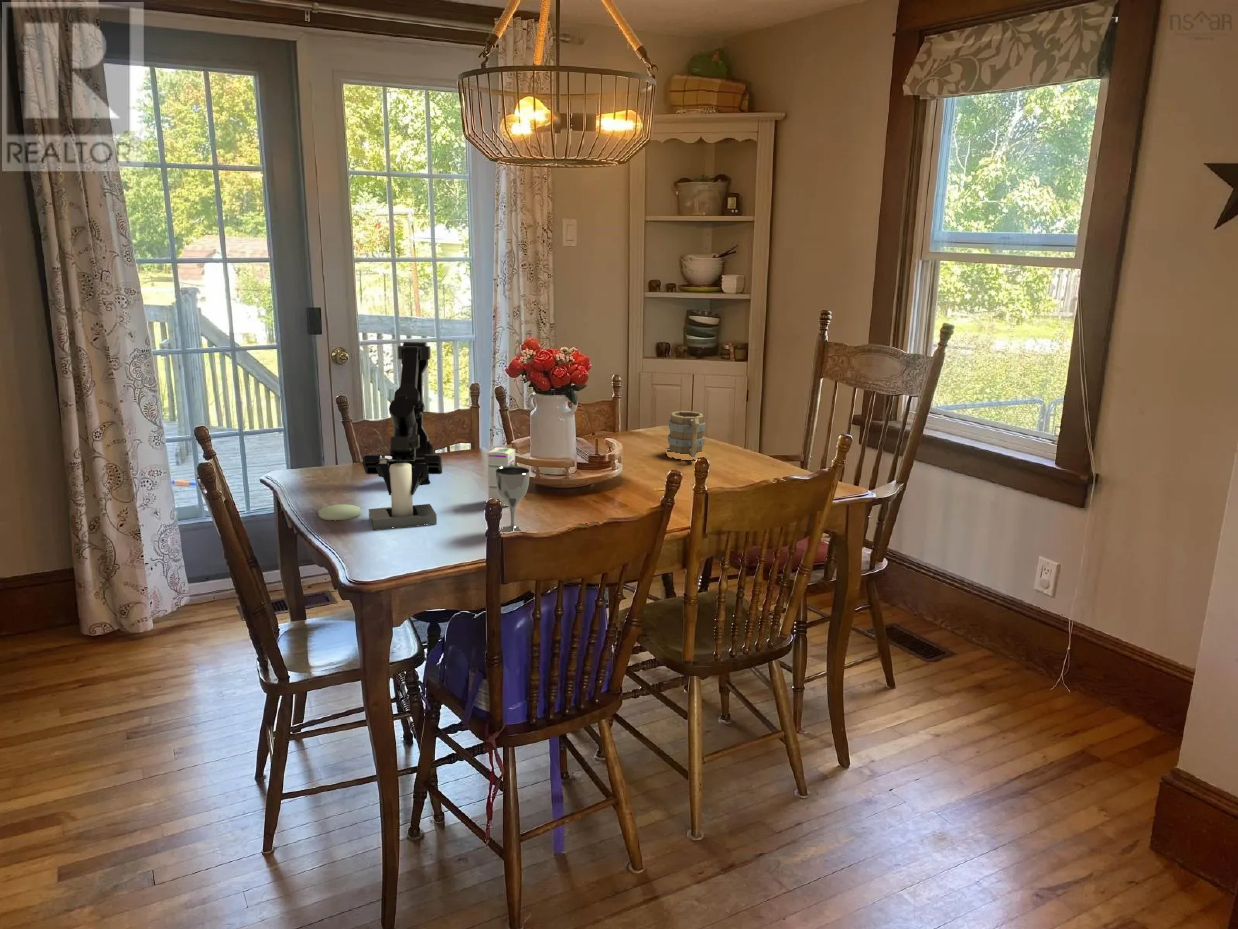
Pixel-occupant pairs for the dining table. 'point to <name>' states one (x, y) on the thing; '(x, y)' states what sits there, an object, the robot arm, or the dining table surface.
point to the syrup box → (497, 460)
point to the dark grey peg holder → (402, 517)
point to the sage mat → (339, 512)
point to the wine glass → (512, 489)
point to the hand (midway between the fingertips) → (401, 494)
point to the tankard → (686, 432)
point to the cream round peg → (401, 489)
